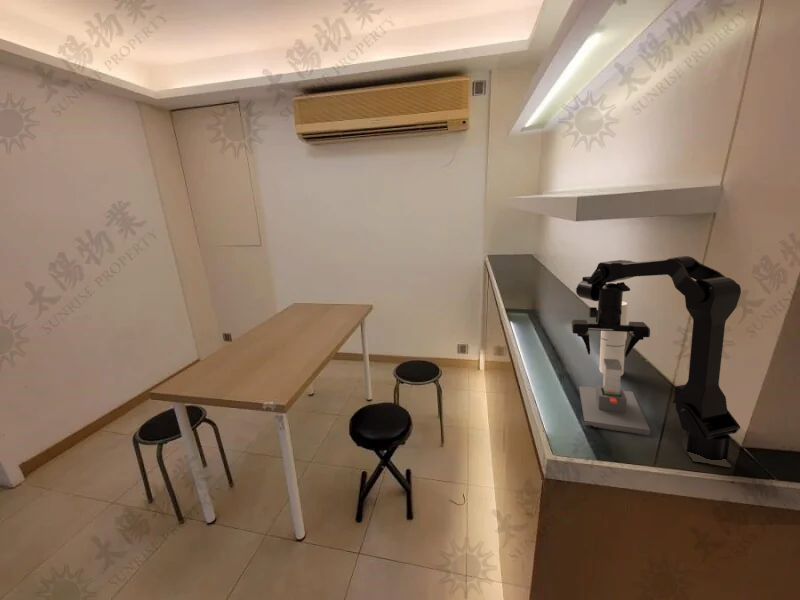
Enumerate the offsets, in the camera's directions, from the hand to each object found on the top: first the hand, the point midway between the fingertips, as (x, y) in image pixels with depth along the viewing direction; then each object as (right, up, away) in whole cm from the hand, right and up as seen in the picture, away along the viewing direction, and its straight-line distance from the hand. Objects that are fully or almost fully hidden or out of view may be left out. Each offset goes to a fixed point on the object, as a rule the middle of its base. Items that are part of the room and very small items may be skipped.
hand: (606, 355), depth 96 cm
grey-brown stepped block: (-2, -10, -5) cm, 11 cm away
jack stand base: (-2, -15, -4) cm, 16 cm away
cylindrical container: (+13, -9, +18) cm, 24 cm away
